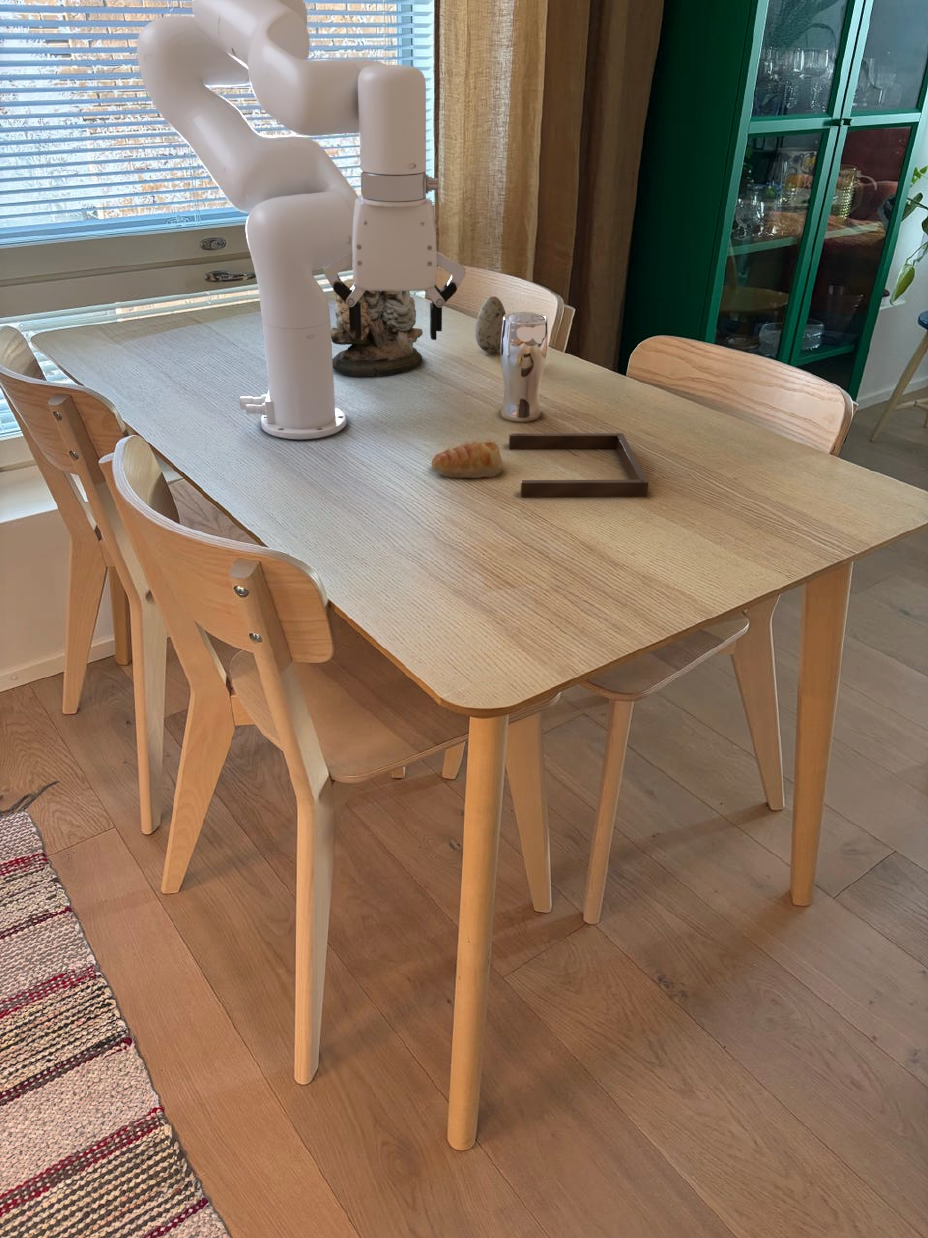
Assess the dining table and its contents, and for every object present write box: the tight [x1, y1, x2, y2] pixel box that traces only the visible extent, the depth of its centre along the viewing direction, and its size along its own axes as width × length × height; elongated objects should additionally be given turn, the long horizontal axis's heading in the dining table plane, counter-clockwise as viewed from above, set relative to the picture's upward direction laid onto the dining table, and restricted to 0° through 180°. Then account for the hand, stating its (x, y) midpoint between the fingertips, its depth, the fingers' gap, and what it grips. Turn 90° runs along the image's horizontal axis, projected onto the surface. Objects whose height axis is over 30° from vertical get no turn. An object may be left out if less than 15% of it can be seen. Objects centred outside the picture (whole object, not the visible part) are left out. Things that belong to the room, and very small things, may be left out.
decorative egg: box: [474, 295, 507, 354], centre depth 173 cm, size 6×6×10 cm
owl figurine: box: [331, 277, 424, 378], centre depth 163 cm, size 18×12×17 cm, turn 126°
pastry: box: [430, 439, 504, 479], centre depth 129 cm, size 9×7×4 cm
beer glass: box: [500, 311, 549, 423], centre depth 144 cm, size 7×7×15 cm
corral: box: [508, 432, 649, 498], centre depth 131 cm, size 16×17×2 cm
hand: (396, 336), depth 120 cm, fingers open, 9 cm apart
